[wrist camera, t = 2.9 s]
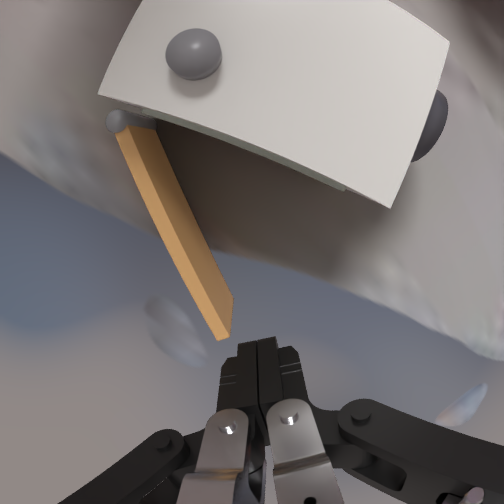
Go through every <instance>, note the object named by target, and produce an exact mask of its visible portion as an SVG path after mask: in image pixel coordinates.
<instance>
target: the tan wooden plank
mask: <svg viewBox="0 0 504 504" xmlns="http://www.w3.org/2000/svg"><path fill="white" fill-rule="evenodd" d="M106 127H107V129H108V130H109V131H110V132H114V133H115V136H116V138H117V141H118V143H119V146H120V148H121V150H122V153H123V155H124V157H125V160H126V162H127V164H128V167H129V169H130V171H131V173H132V176H133V178H134V180H135V182H136V185H137V187H138V189H139V191H140V193H141V196H142V198H143V200H144V202H145V204H146V206H147V208H148V211H149V213H150V215H151V217H152V219H153V221H154V223H155V225H156V227H157V229H158V231H159V233H160V235H161V237H162V239H163V241H164V243H165V245H166V247H167V249H168V251H169V253H170V255H171V257H172V259H173V261H174V263H175V265H176V267H177V269H178V271H179V272H180V275H181V277H182V278H183V280H184V282H185V284H186V286H187V288H188V290H189V291H190V293H191V295H192V297H193V299H194V301H195V302H196V304H197V306H198V308H199V310H200V311H201V313H202V315H203V317H204V318H205V320H206V322H207V324H208V326H209V327H210V329H211V331H212V332H213V334H214V336H215V338H216V339H217V341H219V340H222V339H226V338H228V337H230V331H231V321H232V311H233V301H234V298H233V297H232V294H231V293H230V290H229V288H228V286H227V284H226V282H225V280H224V278H223V276H222V274H221V272H220V270H219V268H218V266H217V264H216V262H215V260H214V258H213V255H212V253H211V251H210V249H209V247H208V245H207V243H206V241H205V239H204V237H203V234H202V232H201V230H200V228H199V226H198V224H197V222H196V220H195V217H194V215H193V213H192V211H191V209H190V207H189V205H188V202H187V200H186V198H185V196H184V194H183V191H182V189H181V187H180V185H179V183H178V180H177V178H176V176H175V174H174V172H173V169H172V167H171V165H170V163H169V160H168V158H167V156H166V154H165V151H164V149H163V147H162V144H161V142H160V140H159V138H158V135H157V133H156V129H157V124H156V122H155V120H153V119H151V118H148V117H144V116H141V115H137V114H134V113H130V112H127V111H123V110H119V109H116V110H113V111H111V112H110V113H109V114H108V116H107V118H106Z"/></svg>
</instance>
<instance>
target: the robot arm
mask: <svg viewBox="0 0 504 504" xmlns="http://www.w3.org/2000/svg"><path fill="white" fill-rule="evenodd" d="M220 377H221V378H220V386H219V393H218V401H217V410H216V413H215V414H214V415H212V417H210V418H209V420H208V421H207V424H206V427H205V428H204V429H202V430H201V431H198V432H195V433H192V434H189V435H186V436H182V435H181V434H180V433H179V432H178V431H176V430H172V429H164V430H160V431H157V432H155V433H154V434H152V435H151V436H150V437H148V438H147V439H146V440H145V441H143V442H142V443H141V444H140V445H138V446H137V447H136V448H135V449H133V450H132V451H131V452H129V453H128V454H127V455H125V456H124V457H123V458H122V459H120V460H119V461H118V462H116V463H115V464H114V465H112V466H111V467H110V468H108V469H107V470H106V471H104V472H103V473H102V474H100V475H99V476H97V477H96V478H95V479H93V480H92V481H90V482H89V483H87V484H86V485H85V486H83V487H82V488H80V489H79V490H77V491H76V492H75V493H73V494H72V495H70V496H68V497H67V498H65V499H64V500H63V501H61V502H59V503H58V504H264V502H265V484H266V460H265V446H268V445H271V450H272V456H273V462H274V469H273V477H274V483H275V489H276V494H277V501H278V504H344V501H343V498H342V495H341V492H340V489H339V486H338V483H337V480H336V477H335V474H334V471H333V468H343V470H344V471H345V472H347V473H348V474H350V475H352V476H353V477H355V478H357V479H359V480H361V481H363V482H365V483H366V484H368V485H370V486H372V487H374V488H376V489H378V490H380V491H382V492H384V493H386V494H388V495H390V496H392V497H394V498H396V499H398V500H401V501H403V502H405V503H407V504H504V446H502V445H498V444H495V443H491V442H488V441H484V440H481V439H478V438H474V437H471V436H468V435H465V434H462V433H459V432H456V431H453V430H450V429H447V428H444V427H441V426H439V425H436V424H433V423H430V422H427V421H424V420H422V419H419V418H417V417H414V416H411V415H409V414H406V413H404V412H401V411H399V410H396V409H393V408H391V407H388V406H386V405H384V404H381V403H379V402H376V401H374V400H371V399H358V400H354V401H351V402H349V403H348V404H346V405H345V406H344V407H343V408H342V409H341V410H340V411H329V410H322V409H319V408H317V407H315V406H314V405H312V403H311V402H310V401H309V399H308V395H307V390H306V386H305V381H304V377H303V372H302V368H301V363H300V359H299V355H298V352H297V351H296V350H295V349H294V348H293V347H292V346H287V347H282V348H278V344H277V340H276V337H275V336H274V337H270V338H265V339H260V340H257V341H250V342H245V343H240V344H238V351H237V357H231V358H227V360H226V362H225V363H224V364H223V366H222V368H221V376H220ZM163 480H164V481H163ZM162 481H163V482H162ZM157 485H158V486H157ZM156 486H157V487H156ZM152 489H153V490H152ZM151 490H152V491H151ZM146 494H147V495H146ZM145 495H146V496H145Z"/></svg>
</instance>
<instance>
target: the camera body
mask: <svg viewBox="0 0 504 504" xmlns="http://www.w3.org/2000/svg"><path fill="white" fill-rule="evenodd" d="M449 44H450V42H449V41H448V40H446V39H445V38H444V37H442V36H441V35H440V34H438V33H437V32H436V31H434V30H433V29H432V28H430V27H429V26H427V25H426V24H425V23H423V22H422V21H420V20H419V19H417V18H416V17H414V16H413V15H411V14H410V13H408V12H407V11H405V10H403V9H402V8H400V7H399V6H397V5H395V4H394V3H392V2H390V1H388V0H143V1H142V2H141V4H140V6H139V7H138V9H137V11H136V13H135V14H134V16H133V18H132V20H131V22H130V24H129V25H128V27H127V29H126V31H125V33H124V35H123V37H122V39H121V41H120V43H119V45H118V47H117V49H116V51H115V54H114V56H113V58H112V60H111V62H110V64H109V67H108V69H107V71H106V74H105V76H104V78H103V81H102V83H101V86H100V88H99V91H98V93H97V94H99V95H102V96H105V97H108V98H111V99H114V100H118V101H121V102H124V103H127V104H129V105H132V106H135V107H138V108H141V109H142V111H141V113H143V114H146V115H149V116H152V117H155V118H158V119H161V120H164V121H167V122H170V123H173V124H176V125H179V126H182V127H185V128H188V129H191V130H194V131H197V132H200V133H203V134H205V135H208V136H211V137H214V138H216V139H219V140H222V141H225V142H227V143H230V144H232V145H235V146H238V147H240V148H243V149H245V150H248V151H250V152H253V153H255V154H258V155H260V156H263V157H265V158H268V159H270V160H272V161H275V162H277V163H279V164H282V165H284V166H286V167H289V168H291V169H293V170H296V171H298V172H300V173H302V174H305V175H307V176H309V177H311V178H313V179H316V180H318V181H320V182H322V183H324V184H327V185H329V186H331V187H333V188H335V189H338V190H340V191H342V192H344V191H345V189H347V190H350V191H352V192H354V193H357V194H359V195H361V196H363V197H366V198H368V199H370V200H372V201H375V202H377V203H379V204H381V205H383V206H385V207H388V208H391V206H392V204H393V202H394V199H395V197H396V195H397V193H398V190H399V188H400V186H401V183H402V181H403V179H404V176H405V174H406V172H407V169H408V167H409V164H410V162H414V161H417V160H419V159H420V158H422V157H423V156H424V155H425V154H427V153H428V152H429V151H430V149H431V148H432V147H433V146H434V145H435V143H436V142H437V140H438V139H439V137H440V135H441V133H442V131H443V129H444V126H445V123H446V120H447V115H448V103H447V99H446V97H445V96H444V95H443V94H442V93H441V92H440V91H438V90H437V86H438V83H439V80H440V77H441V73H442V70H443V66H444V63H445V59H446V55H447V52H448V48H449Z"/></svg>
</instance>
